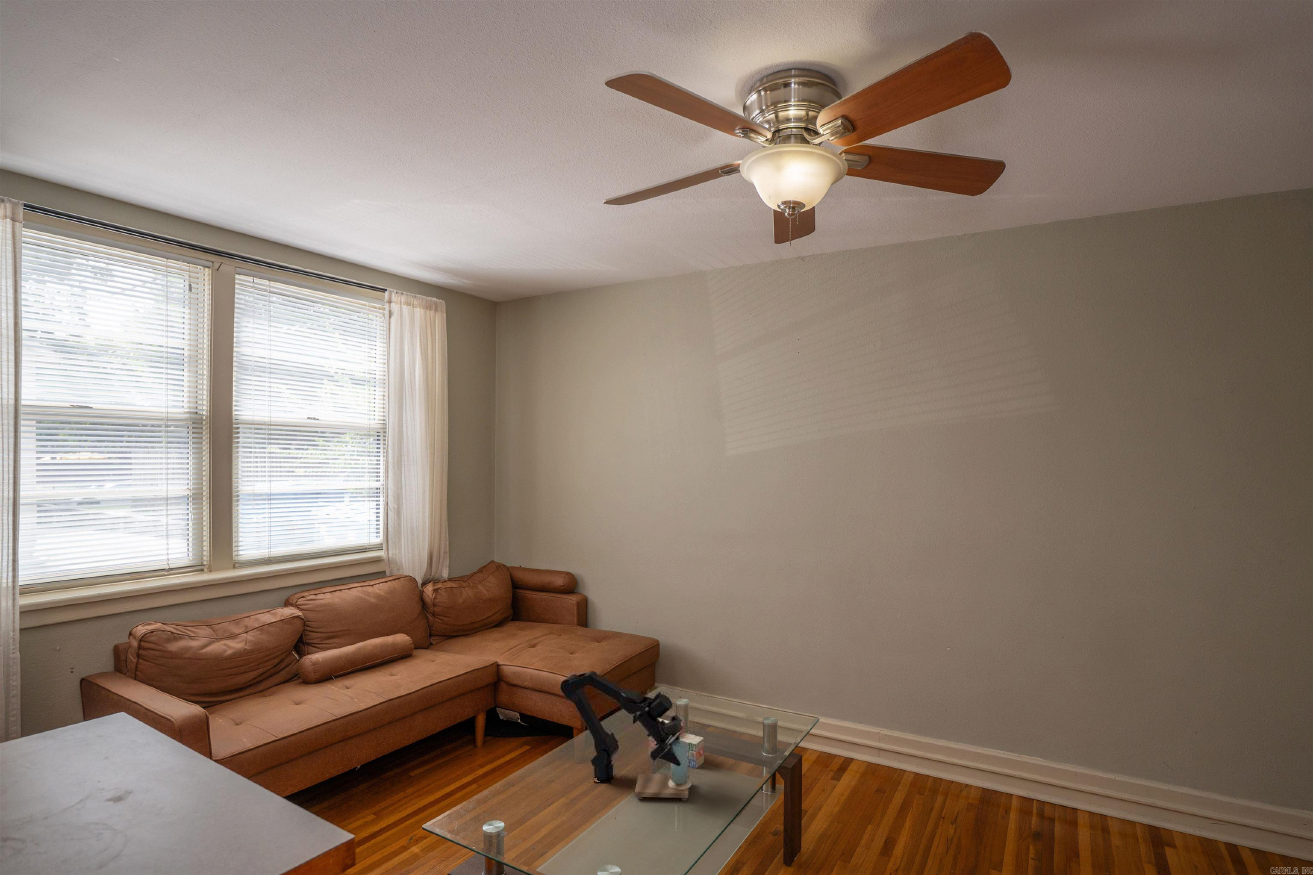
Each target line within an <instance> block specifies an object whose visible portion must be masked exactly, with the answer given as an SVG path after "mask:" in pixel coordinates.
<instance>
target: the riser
mask: <svg viewBox="0 0 1313 875" xmlns="http://www.w3.org/2000/svg"><path fill="white" fill-rule="evenodd" d="M691 786H692V781H691V779H690V775H689V774H687V782H685V783H683V784H676V783H673V782H672V781H671V774H659V773H658V774H653V773H649V774H647V773H639V774H638V776H637V780H636V785H635V790H634V798H635V797H636V799H637V800H639V801H640V800H643V799H644V798H645V797H646V798H673V799H674V798H675V799H677V798H678V799H681V801H682V802H685V801H687V800H688V798H689V790H690V788H691Z"/></svg>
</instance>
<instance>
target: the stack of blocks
mask: <svg viewBox="0 0 1313 875" xmlns="http://www.w3.org/2000/svg"><path fill="white" fill-rule="evenodd" d="M657 718H658V717H657ZM658 719H659V720H660V721H662V720H664V721H665V722H666V723H667V722H669V721H670V720H666V719H662V718H658ZM681 725H682V730H681V731H680V732H678V733H677V735H678V734H680V733H681V735H680V740H682V741H685V742H686V743H687V767H690V768H693V769H698V767H700V766H701V765H702V764H703V763H704V762H705V759H704V758H705V757H704V756H705V753H704V752H705V751H704V745H705V741H704V737H702V736H697V735H694V734H691V733H687V732H684V724H682V723H681ZM647 738H648V755H649V754H650V753H651V751H652V750H653V749H654V748H655V747H656V746H655V744H656V742H655V741H654V739H653V738H652V737H651V736H650V737H648V736H647ZM668 744H669V743H668Z"/></svg>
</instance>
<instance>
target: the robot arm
mask: <svg viewBox="0 0 1313 875" xmlns="http://www.w3.org/2000/svg"><path fill="white" fill-rule="evenodd" d="M588 686H589V687H591V688H593V689H594V690H596V691H598V692H600V693H602V694H603V695H605V696H607V697H609V698H611V699H612V700H614V701H615V702H617V703H618V704H619V707H620V708H621V709H622V710H624V711H625V712H626V713H627V714H629V715H632V724H633V725H634V724H636V723H637V722H639V723H640V725H641V726H642V727H643V728H644V730H645V731H646V732H647V734H646V736H647V738H648V737H650V736H651V737H652V738H653V739H654V741H655V742H656V744H655V746H656V747H655V748H654V749H653V750H652V751H651V753H650V755H649V757H650V758H651V760H652V761H653V762H655V761H656V760H657V759H658V760H663V761H665V762H668V763H670V764H671V763H672V764H674V765H677V766H680V765H681V763H680V762H679V760H678V758H677V757H676V756H675V754H674V753H673V751H672V745H671V743H672V742H673V741H676V740H680V735H681V733H680V734H678V735H677V733H678V732H680V731H681V730H682V725H683V724H682V719H681V718H680V717H679V716H678V715H677V714H673V715H672V716H671V717H670V720H668V721H669V722H667V723H666V722H665V721H664V720H665V719H662V717H663V716H664V715H666V714H667V713H668V712H669V711H670V710H671V709H672V708H673V702H672V700H671V698H670V697H669V696H667V695H666V694H663V693H661V692H660V691H659V692H657V693H656V694H655V695H654V697H653V698H652V697H649V696H647V695H644V694H642V693H641V692H638V691H636V690H632V689H628V688H627V689H626V688H623V687H621V686H620V685H618V684H616V683H614V682H612V681H611V680H609V679H607V678H605V677H603V676H602V675H600V674H598V673H597V672H596V671H594V670H590V671H588V672H581V673H579V674H576V673H572V674H570V675H569V676H567V677H566V678H565V679H564V680H562V681H561V683H560V687H559V689H560V691H561V693H562V694H563V696H564V698H566V699H567V700H568V701H570V702H571V703H573V705H574V706H575V709H576V710H577V712H578V713H579V715H580V717H581V719H582V722H584V724H585V726H586V727H587V729H588V730H587V731H588V732H589V733H590V735H591V737H592V739H593V744H594V745H593V746H594V750H595V755H594V756H593V757H592V758H591V760H590V763H591V766H592V767H593V771H594V772H593V773H594V774H593V779H594V778H597V780H598V781H600V782H603V783H604V784H605V783H606V784H611V783H612V781H613V779H614V777H615V764H614V763H613V758H614V757H615V756H616V754H618V752H619V748H620V745H619V740H617V738H616V736H615V734H614V732H610V733H609V732H607V731H606V730H605V728H604V726H603V724H602V723H601V721H600V719H599V718H598V716H597V714H596V712H595V711H594V708H593V707H592V705H591V703H590V701H589V700H588V697H587V696H586V688H585V687H588ZM658 718H659V719H662V721H660V720H659V719H658ZM681 724H682V725H681ZM668 743H669V744H668ZM603 783H602V784H603Z"/></svg>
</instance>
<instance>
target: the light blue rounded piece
mask: <svg viewBox="0 0 1313 875" xmlns="http://www.w3.org/2000/svg"><path fill="white" fill-rule="evenodd" d="M671 745H672V751H673V753H674V754H675V756H676V757H677V758H678V760H679V762H680V763H681V765H680V766H677V765H674V764H672V763H670V775H671V781H672V782H673V783H676V784H683V783H685V782H687V775H688V766H687V743H686V742H685V741H682V740H676V741H673V742H672V743H671Z"/></svg>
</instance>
